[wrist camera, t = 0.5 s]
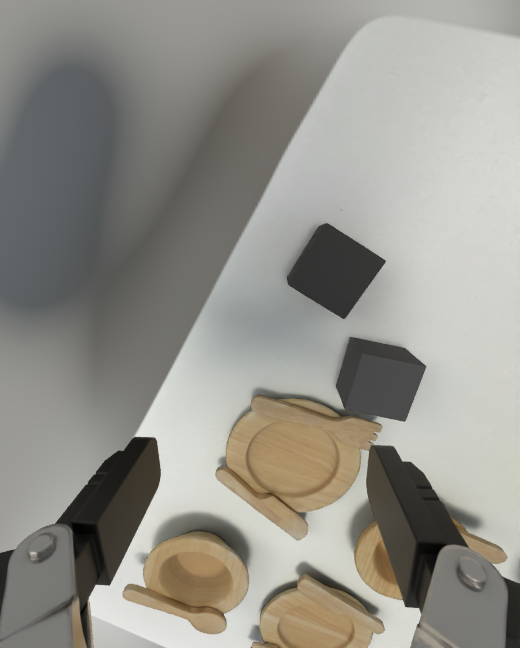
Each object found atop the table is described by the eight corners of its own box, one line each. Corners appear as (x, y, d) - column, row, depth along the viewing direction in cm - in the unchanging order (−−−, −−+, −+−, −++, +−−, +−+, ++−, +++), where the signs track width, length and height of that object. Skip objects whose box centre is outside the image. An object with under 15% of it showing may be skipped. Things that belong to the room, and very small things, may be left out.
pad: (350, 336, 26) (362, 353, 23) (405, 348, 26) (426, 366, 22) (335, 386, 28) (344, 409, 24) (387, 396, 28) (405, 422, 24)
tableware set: (321, 673, 39) (326, 721, 35) (124, 576, 37) (106, 616, 33) (519, 501, 30) (556, 540, 26) (275, 355, 27) (274, 374, 23)
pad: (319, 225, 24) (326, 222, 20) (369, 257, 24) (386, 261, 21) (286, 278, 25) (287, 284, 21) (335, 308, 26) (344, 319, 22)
